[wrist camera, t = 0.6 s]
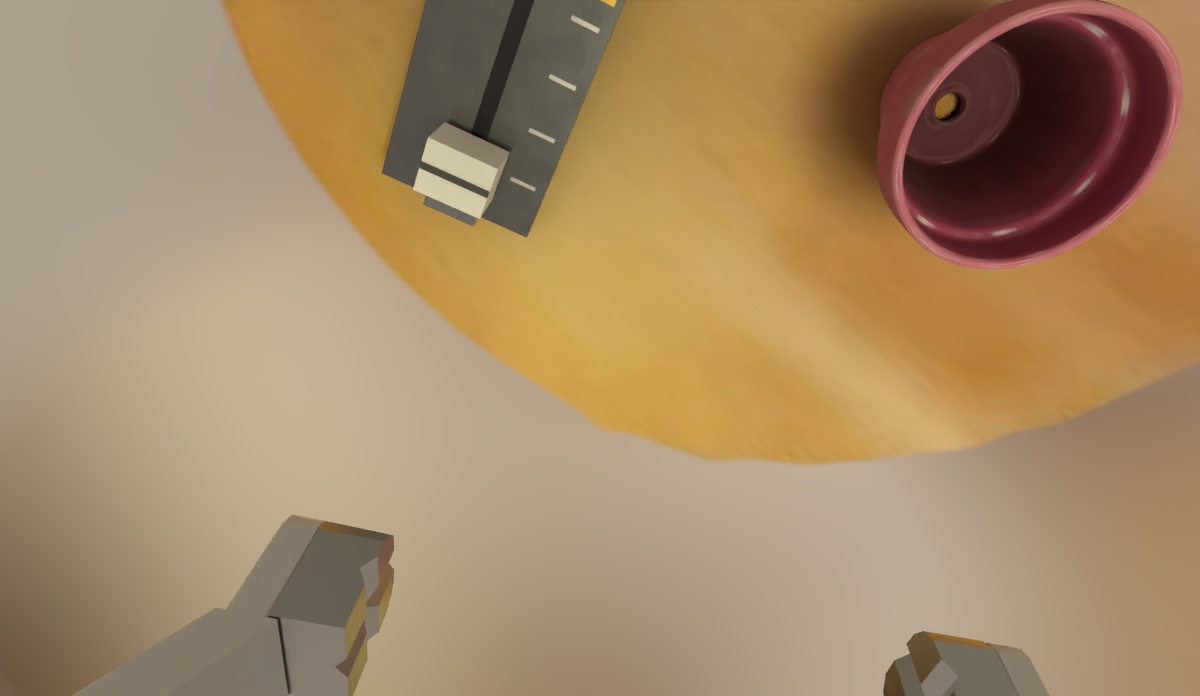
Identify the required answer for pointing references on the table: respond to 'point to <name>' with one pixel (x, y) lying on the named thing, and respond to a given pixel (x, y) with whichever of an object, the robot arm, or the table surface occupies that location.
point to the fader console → (501, 90)
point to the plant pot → (1026, 129)
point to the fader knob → (460, 170)
